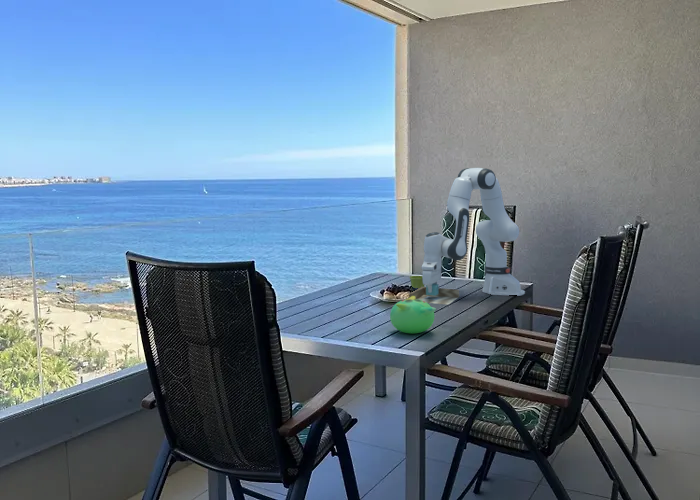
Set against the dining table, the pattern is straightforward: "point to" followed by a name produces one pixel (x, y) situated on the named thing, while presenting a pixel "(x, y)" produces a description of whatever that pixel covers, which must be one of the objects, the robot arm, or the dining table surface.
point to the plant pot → (416, 281)
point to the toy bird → (412, 315)
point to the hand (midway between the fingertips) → (432, 291)
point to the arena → (441, 298)
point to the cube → (433, 290)
